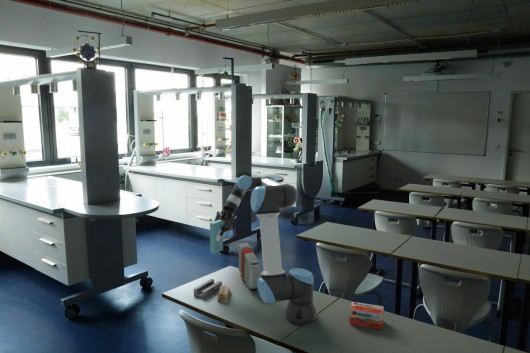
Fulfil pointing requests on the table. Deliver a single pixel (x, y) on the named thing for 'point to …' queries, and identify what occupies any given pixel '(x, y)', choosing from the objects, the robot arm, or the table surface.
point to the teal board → (214, 231)
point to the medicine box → (366, 315)
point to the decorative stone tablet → (248, 266)
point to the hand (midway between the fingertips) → (214, 239)
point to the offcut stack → (224, 294)
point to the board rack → (207, 289)
